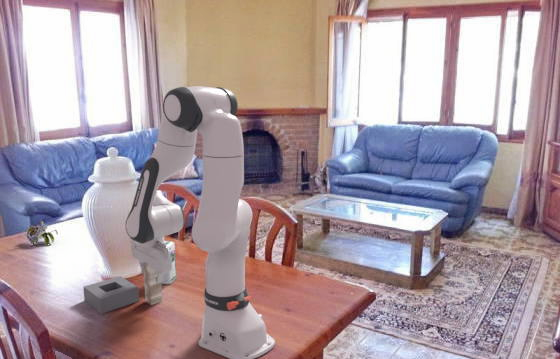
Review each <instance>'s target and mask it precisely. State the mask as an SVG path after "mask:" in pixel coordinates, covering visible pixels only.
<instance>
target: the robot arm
mask: <svg viewBox="0 0 560 359" xmlns="http://www.w3.org/2000/svg"><path fill="white" fill-rule="evenodd" d="M162 109H163V113H162V115H161V119H160V123H159V129H158V133H157V139H156V140H157V141H156V144H155V147H154V150H153V152H152V154H151V155H150V156H149V158H148V159H147V160H146V161H145V163H144V164H143V167H142V170H141V173H140V177H139V180H138V182H137V183H138V184H137V187H136V192H135V194H134V198H133V199H134V200H133V202H132V206H131V208H130V211H129V212H128V215H127V217H126V221H125V231H126V234H127V236H128V237H129V239H130V251H131V256H132V258H133V259H135V260H136V261H138V264H139V267H140V270H141V271H140V272H141V274H142V275H144V266H143V262H146V263H148V264H150V267H151V268H153V269H154V270H156V271H157V274H158V275H157V277H156V282H158V283H161V282H163V276H164V274H165V273H167V272H170V271H171V270H172V261H171V254H170V251H169V249H168V248H167V247H166V245H165V244H163V243H164V241H165V237H166V236H169V235H172V234H175V233H178V232H180V231H182V229H183V228H184V226H185V222H186V217H185V211H184V210H183V208H182V207H181V206H180V205H179V204H177V203H176V202H175V203H174V202H172V201H170V200H169V199H167V198H166V197H165V196H164V193H163V191H162V190H160V189H159V187H160V186H161V184H162V183H163V182H164V181H166V180H167V179H168V178H170V177H171V176H173V175H175V174H177V173H178V172H180V171H182V170H184V169H185V168H187V167H188V166H189V165H190V163H192V161H193V158H194V157H195V156H194V155H195V151H196V144H197V136H198V132H199V133H200V135H201V138H202V139H201V140H202V187H201V193H200V199H199V204H198V210H197V214H196V217H195V221H194V224H193V225H192V228H191V238H192V241H193V243H194V244H195V246H197V247H198V249H200V250H201V251H203V252H206V253H208V254H207V256H206V259H205V266H204V267H205V287H204V288H205V289H204V294H203V298H204V304H205V307H204V308H205V309H204V311H203V313H202V314H203V315H202V319H201V320H202V321H201V336H200V339H198V346H200V348H203V349H206V350H208V351H210V352H213V353H215V354H218V355H220V356H222V357H225V358H228V359H256V358H259V357H260V356H263V355H264V354H266V353H268V352H269V351H271V350H272V349H273V348H274V347H275V344H276V340H275V339H274V338H273V337H272V336H271V335H269V334H268V333H267V327H266V324H265V321H264V317H263V314H261V313H257V311H256V310H255V308H254V307H253V306H252V304H251V303H250V300H252V298H251V297H252V295H249V294H248V293H249V292H248V290H247V287H246V283H245V282H246V280H245V279H246V277H245V276H246V274H245V273H246V271H245V270H246V269H245V268H246V266H245V264H246V256H247V251H248V250H247V249H248V242H249V234H250V229H251V228H250V227H251V225H252V224H251V223H252V219H253V214H254V213H253V210H252V207H251V206H250V204H249V203H248V202H247V201H246V200H244V199H241V198H240V197H241V193H242V189H243V187H244V184H245V164H244V163H245V162H244V161H245V158H244V157H245V154H244V152H245V148H244V147H245V146H244V137H243V136H244V135H243V130H242V125H241V122H240V120H239V118H238V117H237V112H238V100H237V97H236V96H235V94H234V93H233V92H232V91H231V90H230V89H227V88H224V87H221V86H220V87H219V86H218V87H217V86H216V87H211V86H204V85H194V86H192V85H191V86H187V87H185V86H179V87H176V88H173V89H170V90H169V91H167V93H166V94H165V96H164V99H163V104H162Z"/></svg>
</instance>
